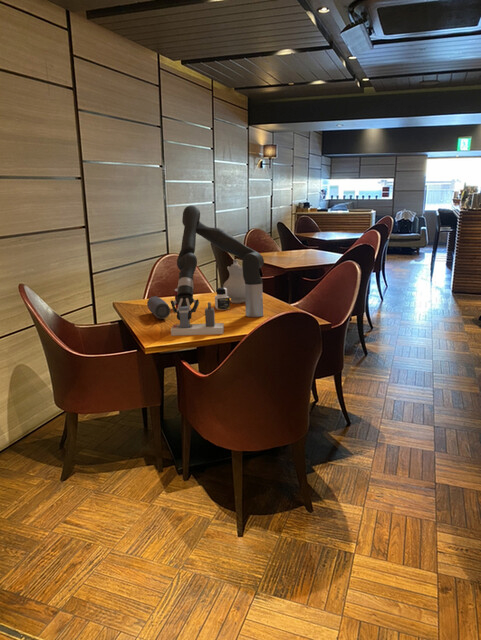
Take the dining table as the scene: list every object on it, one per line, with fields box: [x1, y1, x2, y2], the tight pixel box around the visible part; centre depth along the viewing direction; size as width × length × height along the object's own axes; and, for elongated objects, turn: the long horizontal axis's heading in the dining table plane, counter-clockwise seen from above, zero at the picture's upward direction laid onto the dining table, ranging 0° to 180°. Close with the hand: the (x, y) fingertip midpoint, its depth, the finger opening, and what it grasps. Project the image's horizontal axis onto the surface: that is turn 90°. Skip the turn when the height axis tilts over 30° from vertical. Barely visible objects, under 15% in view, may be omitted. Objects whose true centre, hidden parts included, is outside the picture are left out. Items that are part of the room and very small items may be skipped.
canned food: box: [174, 288, 178, 309], centre depth 282 cm, size 8×8×11 cm
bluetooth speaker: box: [146, 295, 171, 320], centre depth 262 cm, size 23×9×10 cm, turn 21°
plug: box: [179, 306, 191, 328], centre depth 226 cm, size 4×4×10 cm
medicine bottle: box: [214, 287, 231, 311], centre depth 276 cm, size 7×7×12 cm
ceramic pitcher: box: [222, 259, 245, 304], centre depth 294 cm, size 22×20×25 cm
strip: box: [170, 302, 225, 337], centre depth 226 cm, size 24×9×14 cm, turn 89°
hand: (183, 319), depth 224 cm, fingers closed on plug, 4 cm apart
